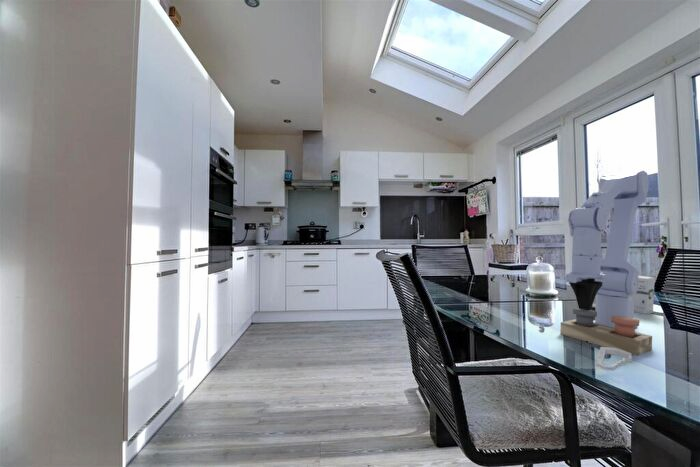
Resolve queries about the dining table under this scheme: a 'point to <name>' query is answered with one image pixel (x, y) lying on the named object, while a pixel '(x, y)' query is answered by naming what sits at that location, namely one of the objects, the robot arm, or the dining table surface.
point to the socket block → (607, 337)
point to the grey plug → (584, 317)
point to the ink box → (644, 295)
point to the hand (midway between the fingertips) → (584, 309)
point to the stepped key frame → (615, 352)
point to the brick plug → (625, 325)
